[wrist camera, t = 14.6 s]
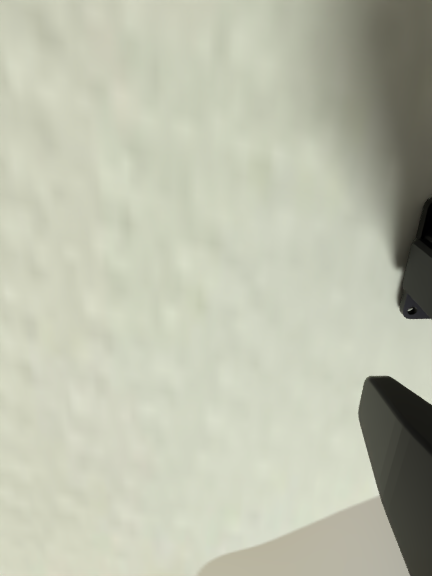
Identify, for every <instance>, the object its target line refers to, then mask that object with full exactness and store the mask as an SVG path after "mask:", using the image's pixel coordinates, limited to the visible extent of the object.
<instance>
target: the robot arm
mask: <svg viewBox="0 0 432 576" xmlns="http://www.w3.org/2000/svg"><path fill="white" fill-rule="evenodd" d="M402 288H403V289H404V292H403V296H402V300H401V304H400V312H401V313H402V314H403V316H404V317H406V318H408V319H432V198H430V199H428V200H427V202H426V203H425V205H424V207H423V211H422V215H421V220H420V224H419V228H418V232H417V237H416V240H415V241H414V242H413V243H412V245H411V250H410V254H409V258H408V262H407V267H406V271H405V275H404V280H403V284H402ZM411 307H414V308H413V309H412V310H411V311H408V309H409V308H411ZM358 414H359V422H360V426H361V429H362V433H363V437H364V440H365V444H366V448H367V451H368V455H369V459H370V462H371V466H372V469H373V473H374V477H375V480H376V484H377V488H378V491H379V494H380V498H381V501H382V504H383V506H384V509H385V512H386V515H387V517H388V520H389V523H390V525H391V528H392V530H393V533H394V535H395V538H396V540H397V543H398V546H399V548H400V551H401V553H402V555H403V558H404V561H405V563H406V566H407V568H408V571H409V574H410V576H432V405H431V404H429V403H428V402H427V401H425V400H424V399H422V398H421V397H419V396H418V395H416V394H415V393H413V392H412V391H411V390H409V389H408V388H406V387H405V386H403V385H402V384H400V383H399V382H398V381H396V380H395V379H393V378H391V377H389V376H369V377H367V378H366V380H365V382H364V386H363V390H362V395H361V400H360V405H359V412H358Z"/></svg>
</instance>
